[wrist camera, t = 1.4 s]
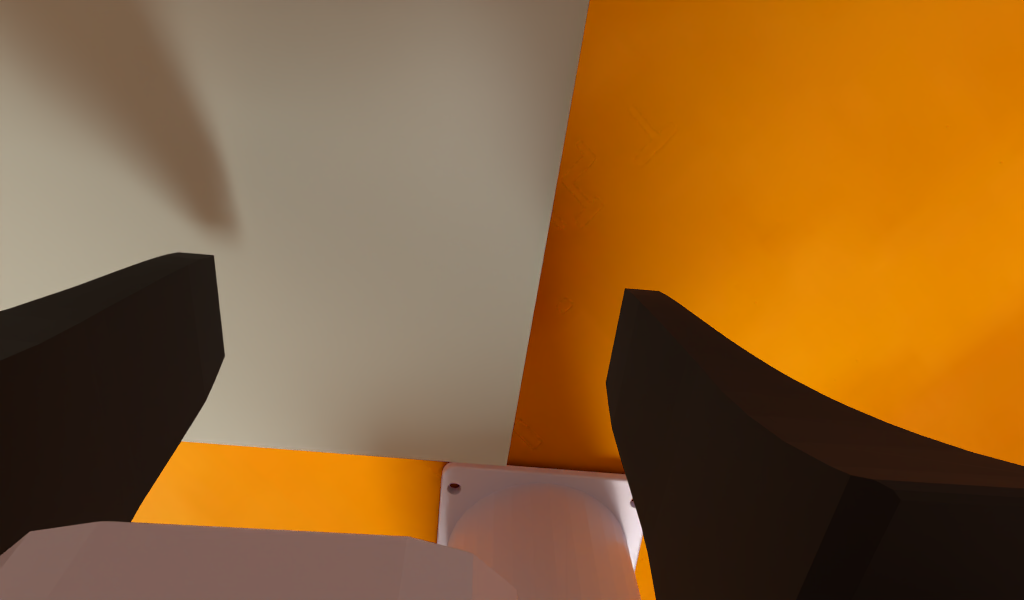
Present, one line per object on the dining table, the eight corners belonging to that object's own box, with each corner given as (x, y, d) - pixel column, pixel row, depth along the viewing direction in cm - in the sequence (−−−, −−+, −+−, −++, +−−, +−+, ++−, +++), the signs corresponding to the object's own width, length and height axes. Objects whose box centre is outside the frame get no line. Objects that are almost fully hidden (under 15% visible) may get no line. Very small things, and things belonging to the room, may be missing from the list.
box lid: (507, 447, 19) (506, 466, 19) (-140, 396, 18) (-156, 415, 18) (658, -427, 7) (665, -428, 6) (-1320, -708, 6) (-1458, -731, 6)
